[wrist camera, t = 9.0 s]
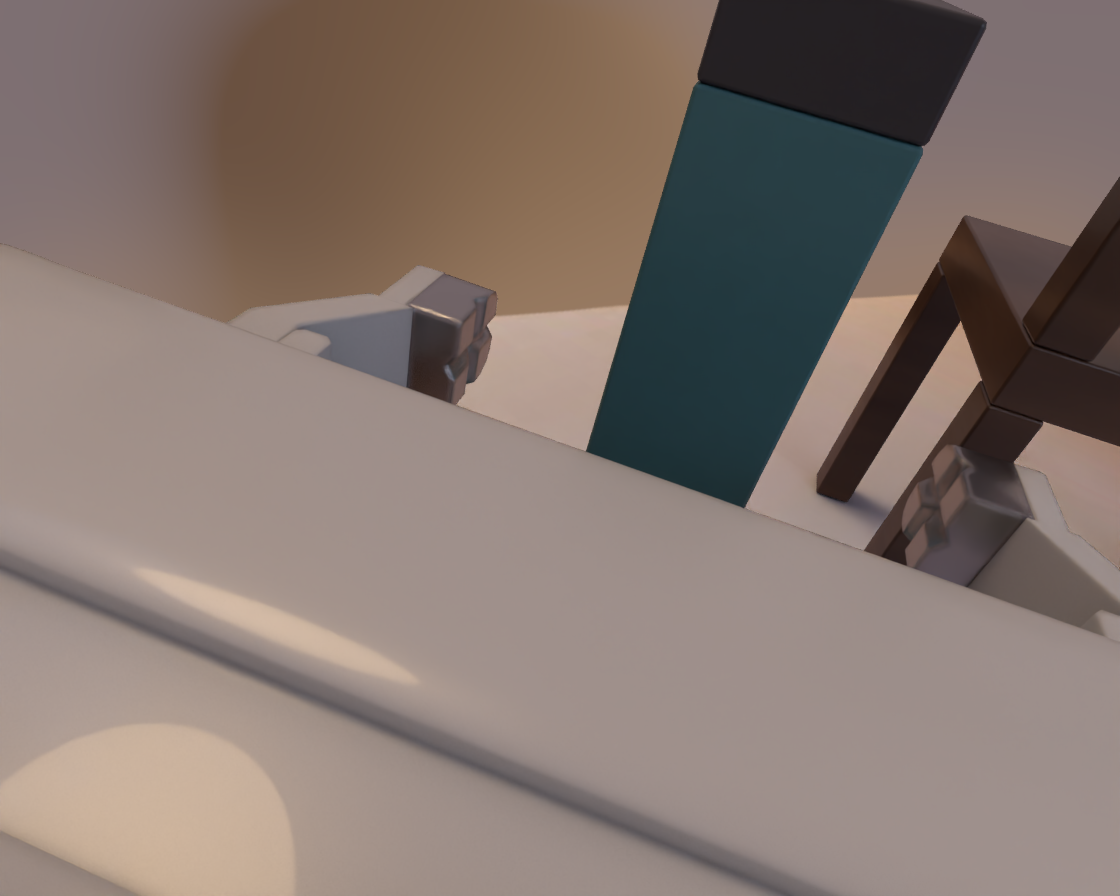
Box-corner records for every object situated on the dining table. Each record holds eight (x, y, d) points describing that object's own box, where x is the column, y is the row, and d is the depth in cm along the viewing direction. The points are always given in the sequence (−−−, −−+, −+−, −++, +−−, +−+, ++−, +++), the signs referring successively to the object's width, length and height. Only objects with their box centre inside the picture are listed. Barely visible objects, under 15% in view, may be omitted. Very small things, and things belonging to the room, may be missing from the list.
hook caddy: (633, 906, 15) (1210, 96, 5) (419, 813, 15) (580, -74, 6) (710, 527, 24) (959, 0, 15) (577, 478, 25) (735, -60, 15)
